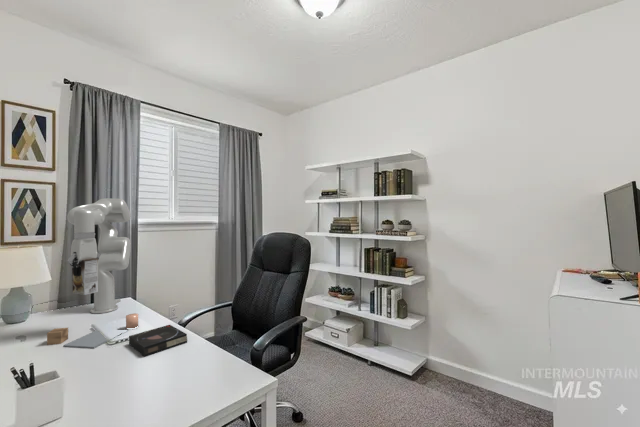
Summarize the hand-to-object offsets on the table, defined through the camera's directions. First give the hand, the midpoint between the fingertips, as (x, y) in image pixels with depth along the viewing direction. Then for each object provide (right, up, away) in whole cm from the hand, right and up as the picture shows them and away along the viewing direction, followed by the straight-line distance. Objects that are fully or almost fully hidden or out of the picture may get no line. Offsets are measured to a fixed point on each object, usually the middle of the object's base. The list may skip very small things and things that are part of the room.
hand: (85, 273), depth 141 cm
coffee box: (0, -9, 0) cm, 9 cm away
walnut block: (-1, -27, -13) cm, 30 cm away
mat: (+13, -26, -10) cm, 31 cm away
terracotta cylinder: (+21, -26, +2) cm, 33 cm away
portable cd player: (+43, -27, -15) cm, 53 cm away
